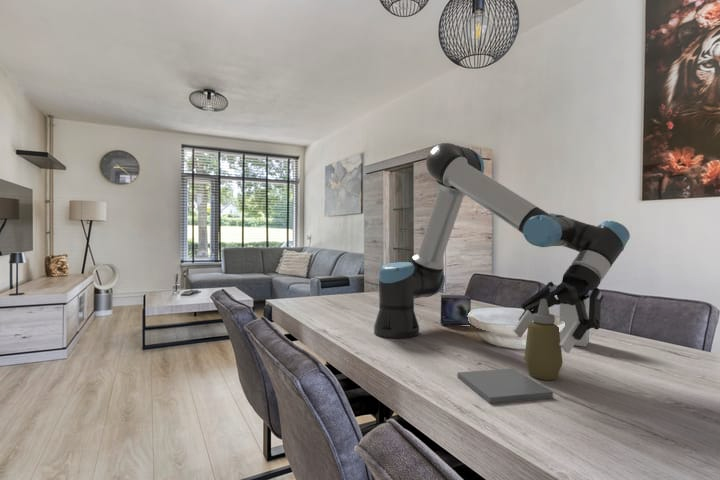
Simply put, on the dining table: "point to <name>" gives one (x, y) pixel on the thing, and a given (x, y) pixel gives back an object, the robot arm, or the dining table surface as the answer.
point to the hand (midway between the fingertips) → (538, 340)
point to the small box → (455, 309)
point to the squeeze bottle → (543, 345)
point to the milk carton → (572, 321)
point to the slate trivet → (504, 385)
